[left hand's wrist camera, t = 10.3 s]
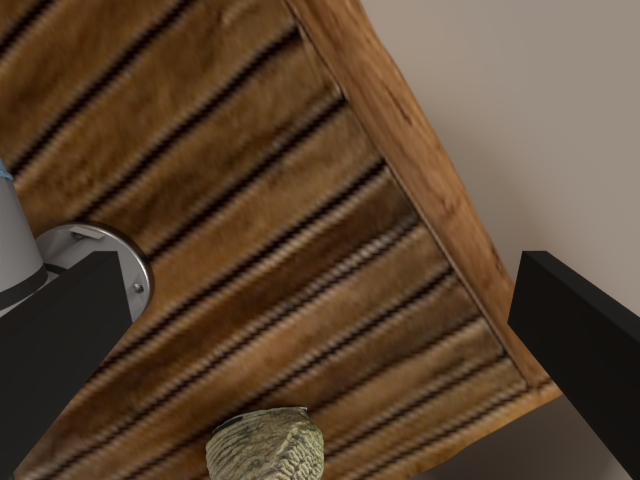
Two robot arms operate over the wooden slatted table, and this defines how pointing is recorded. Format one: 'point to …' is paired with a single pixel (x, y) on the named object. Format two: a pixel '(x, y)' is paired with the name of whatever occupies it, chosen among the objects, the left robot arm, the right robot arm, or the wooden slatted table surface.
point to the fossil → (266, 447)
